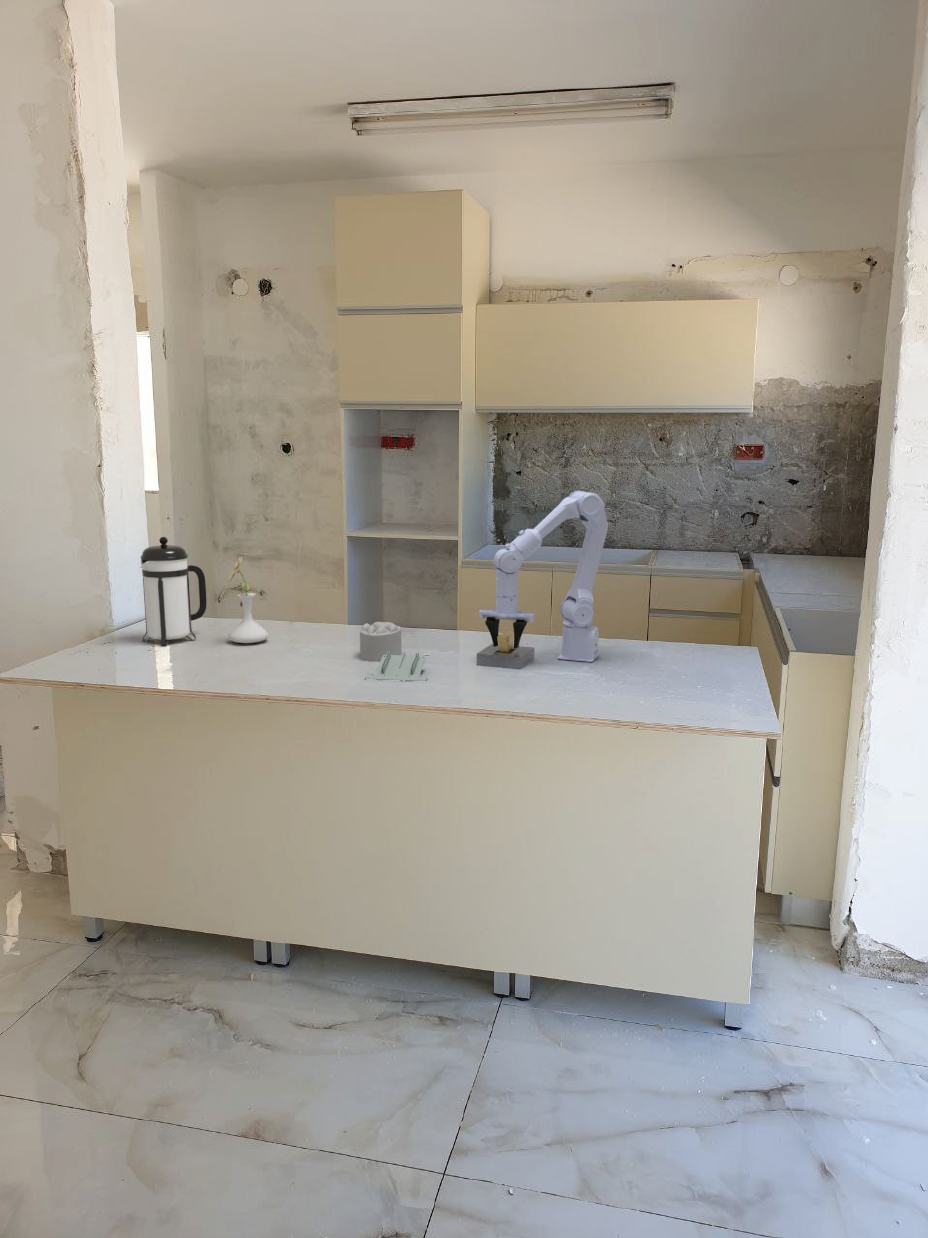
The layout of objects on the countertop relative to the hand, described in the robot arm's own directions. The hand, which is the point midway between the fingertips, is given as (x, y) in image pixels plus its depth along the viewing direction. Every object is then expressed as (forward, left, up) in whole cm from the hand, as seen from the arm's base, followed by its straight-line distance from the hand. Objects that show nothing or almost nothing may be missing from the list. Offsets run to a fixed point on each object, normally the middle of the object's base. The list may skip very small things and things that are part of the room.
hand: (506, 646), depth 243 cm
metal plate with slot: (0, 0, -4) cm, 4 cm away
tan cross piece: (0, 0, -4) cm, 4 cm away
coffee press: (+98, +10, -4) cm, 99 cm away
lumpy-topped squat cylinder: (+34, +6, -4) cm, 35 cm away
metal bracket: (+20, +22, -5) cm, 30 cm away
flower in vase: (+76, +5, -4) cm, 76 cm away
